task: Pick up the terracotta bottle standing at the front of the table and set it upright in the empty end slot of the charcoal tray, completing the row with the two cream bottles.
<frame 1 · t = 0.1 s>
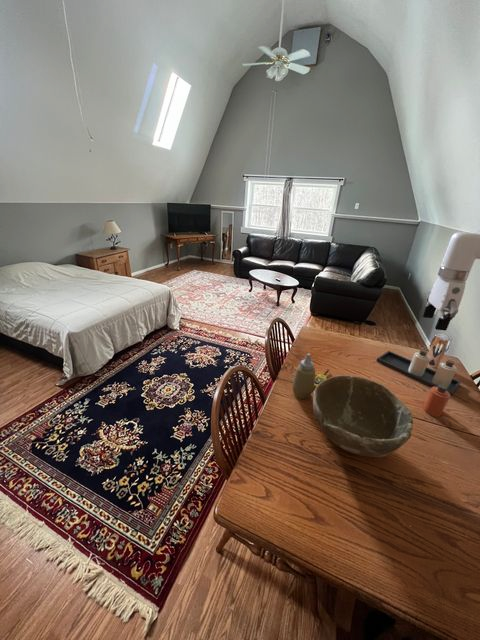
hand: (433, 323, 91), 31 cm above the table, tool pointing down, fingers open, 9 cm apart
tray: (415, 373, 118), on the table
cream bottle b: (415, 372, 118), point 1 cm above the table, touching tray
squeeze bottle: (301, 394, 102), on the table
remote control: (321, 379, 111), on the table
bowl: (350, 439, 84), on the table
terracotta bottle: (431, 410, 97), on the table
beer glass: (431, 365, 125), on the table
cream bottle a: (440, 383, 111), point 1 cm above the table, touching tray
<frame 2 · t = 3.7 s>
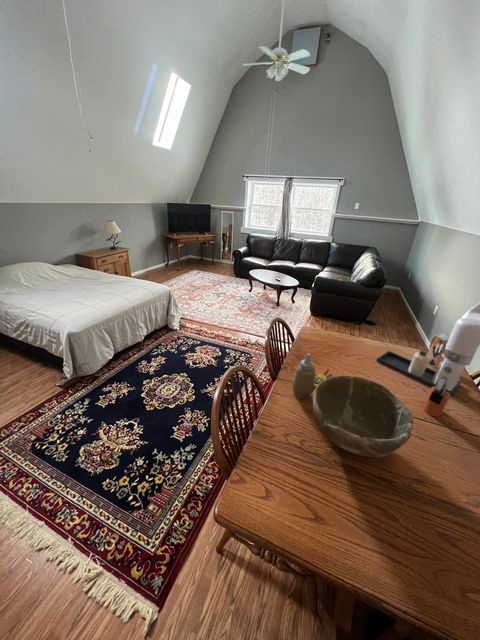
hand: (437, 397, 95), 6 cm above the table, tool pointing down, fingers closed on terracotta bottle, 5 cm apart
terracotta bottle: (431, 410, 97), on the table, touching gripper
everything else where it was.
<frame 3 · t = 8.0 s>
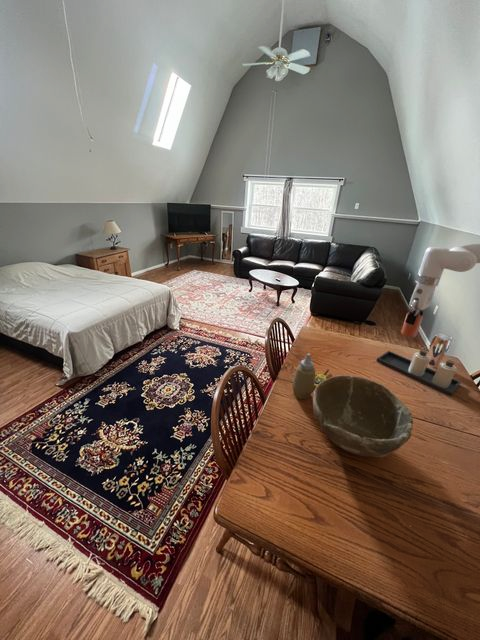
hand: (412, 321, 112), 23 cm above the table, tool pointing down, fingers closed on terracotta bottle, 5 cm apart
terracotta bottle: (408, 333, 114), point 17 cm above the table, touching gripper
everything else where it was.
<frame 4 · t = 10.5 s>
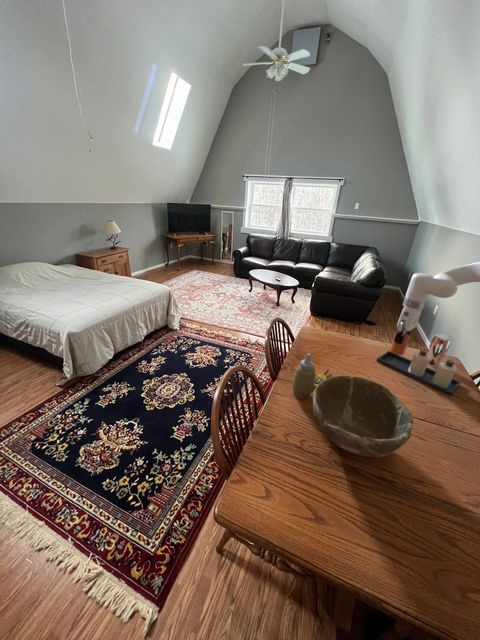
hand: (400, 340, 119), 12 cm above the table, tool pointing down, fingers closed on terracotta bottle, 5 cm apart
terracotta bottle: (396, 351, 122), point 6 cm above the table, touching gripper
everything else where it was.
when the fingers open (7 cm above the table, at t = 12.3 s): terracotta bottle stays where it is, resting on tray.
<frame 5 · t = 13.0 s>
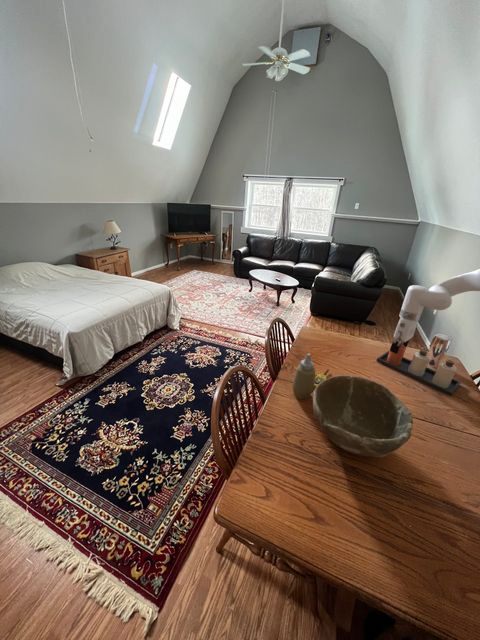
hand: (398, 348, 121), 8 cm above the table, tool pointing down, fingers open, 9 cm apart
terracotta bottle: (393, 362, 124), point 1 cm above the table, touching tray
everything else where it was.
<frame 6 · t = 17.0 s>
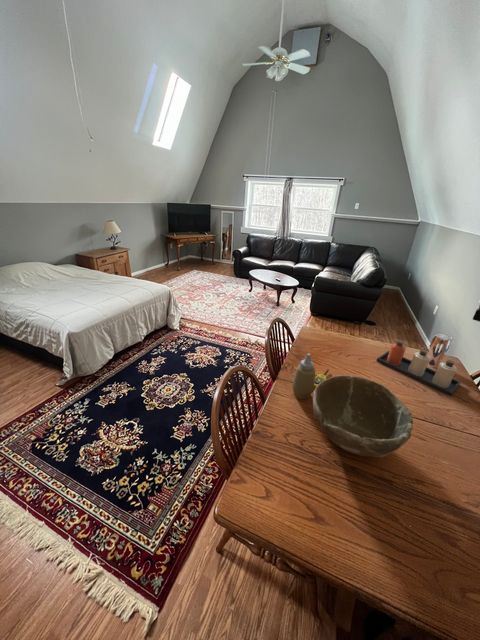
nothing on the table moved.
at the end: terracotta bottle 0.1 cm from the target spot in the tray, point 0.6 cm above the tray's base; terracotta bottle tilted 0°; terracotta bottle 9.6 cm from the cream bottle b (horizontally) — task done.
